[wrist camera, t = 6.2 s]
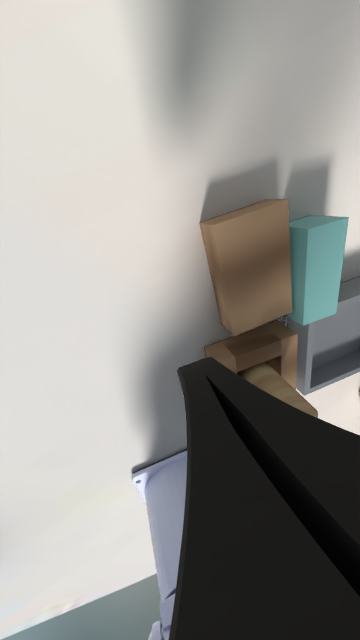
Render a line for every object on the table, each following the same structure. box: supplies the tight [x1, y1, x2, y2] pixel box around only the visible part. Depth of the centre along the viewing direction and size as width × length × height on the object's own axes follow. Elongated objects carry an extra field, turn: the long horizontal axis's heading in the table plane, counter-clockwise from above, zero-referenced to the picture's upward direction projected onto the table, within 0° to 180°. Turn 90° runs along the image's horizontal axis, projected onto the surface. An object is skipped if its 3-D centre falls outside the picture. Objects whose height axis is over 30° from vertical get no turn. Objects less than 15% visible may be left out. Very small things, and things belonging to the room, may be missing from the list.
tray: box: [287, 277, 360, 395], centre depth 22 cm, size 9×9×2 cm
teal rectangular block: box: [286, 215, 349, 326], centre depth 18 cm, size 7×3×3 cm, turn 12°
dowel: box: [237, 362, 318, 418], centre depth 19 cm, size 3×3×7 cm
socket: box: [204, 320, 298, 390], centre depth 21 cm, size 7×7×2 cm
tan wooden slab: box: [200, 199, 292, 336], centre depth 17 cm, size 8×5×2 cm, turn 15°
